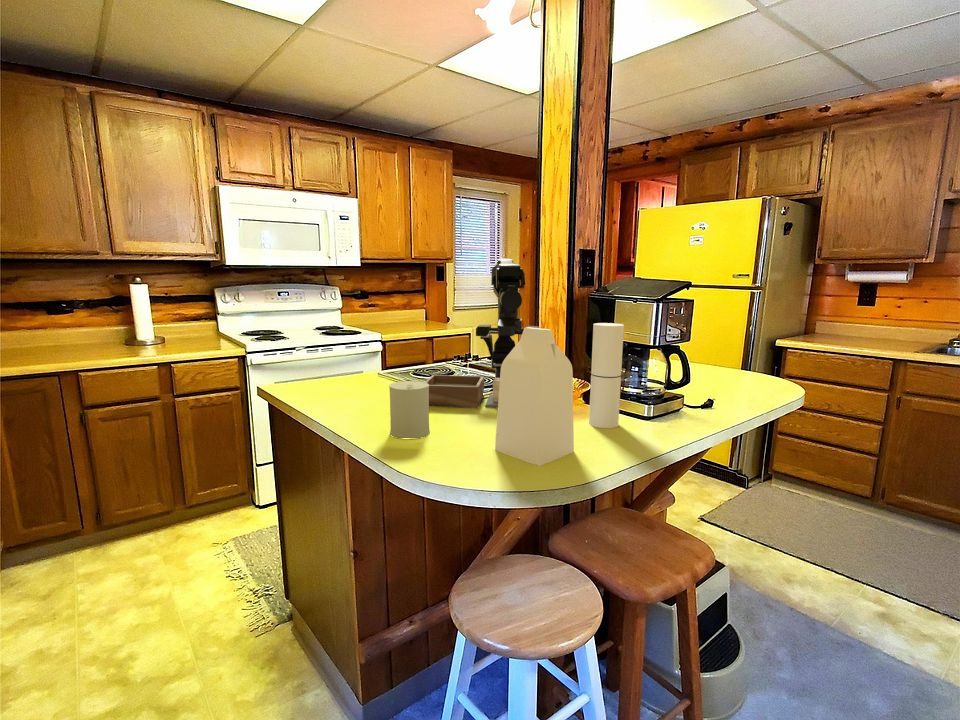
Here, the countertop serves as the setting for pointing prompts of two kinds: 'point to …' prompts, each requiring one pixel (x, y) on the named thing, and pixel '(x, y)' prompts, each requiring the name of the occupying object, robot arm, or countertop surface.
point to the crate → (455, 391)
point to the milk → (535, 400)
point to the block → (496, 389)
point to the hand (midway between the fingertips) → (507, 359)
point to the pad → (491, 402)
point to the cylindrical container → (606, 374)
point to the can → (409, 409)
